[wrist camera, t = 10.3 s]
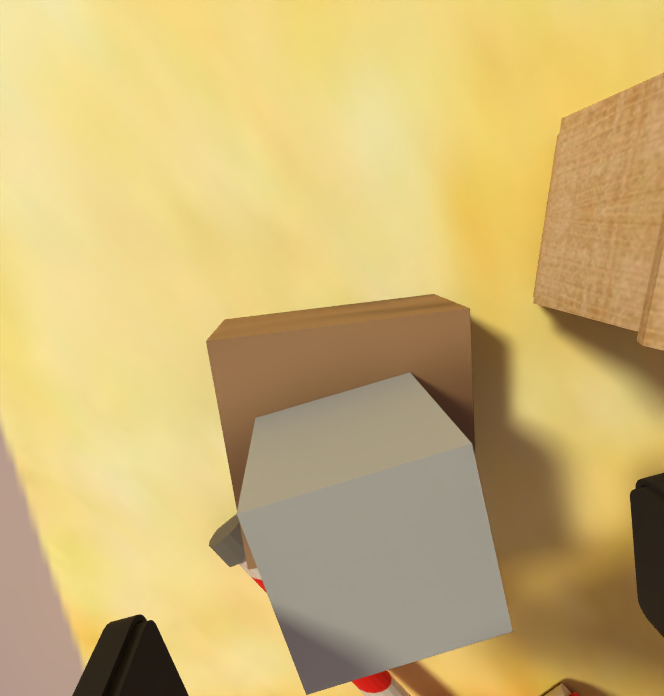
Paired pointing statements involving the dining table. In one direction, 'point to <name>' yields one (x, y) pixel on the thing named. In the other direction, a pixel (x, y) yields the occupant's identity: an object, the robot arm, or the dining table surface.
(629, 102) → the toy train
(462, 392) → the walnut block
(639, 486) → the robot arm
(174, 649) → the dining table surface
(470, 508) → the slate brick
